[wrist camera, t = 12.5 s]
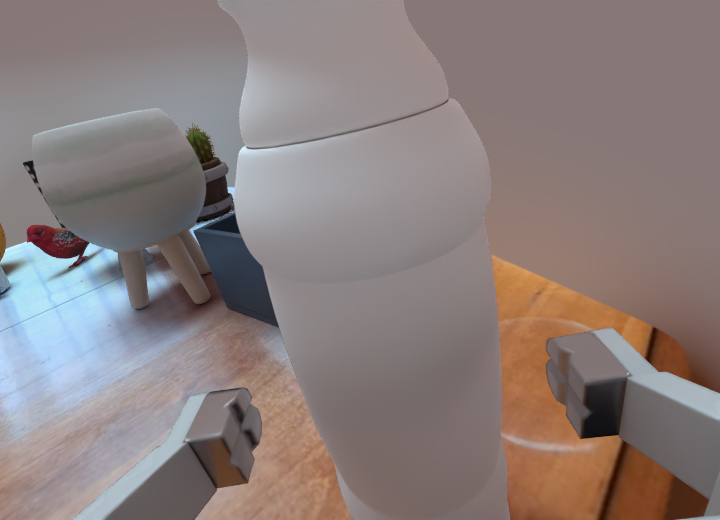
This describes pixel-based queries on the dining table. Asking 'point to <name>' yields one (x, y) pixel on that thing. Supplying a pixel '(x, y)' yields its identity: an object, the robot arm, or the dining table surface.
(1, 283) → the cup
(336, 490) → the dining table surface
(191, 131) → the flowerpot
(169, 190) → the planter
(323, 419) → the water bottle
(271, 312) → the bin
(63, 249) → the decorative bird figurine
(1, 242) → the decorative sphere
